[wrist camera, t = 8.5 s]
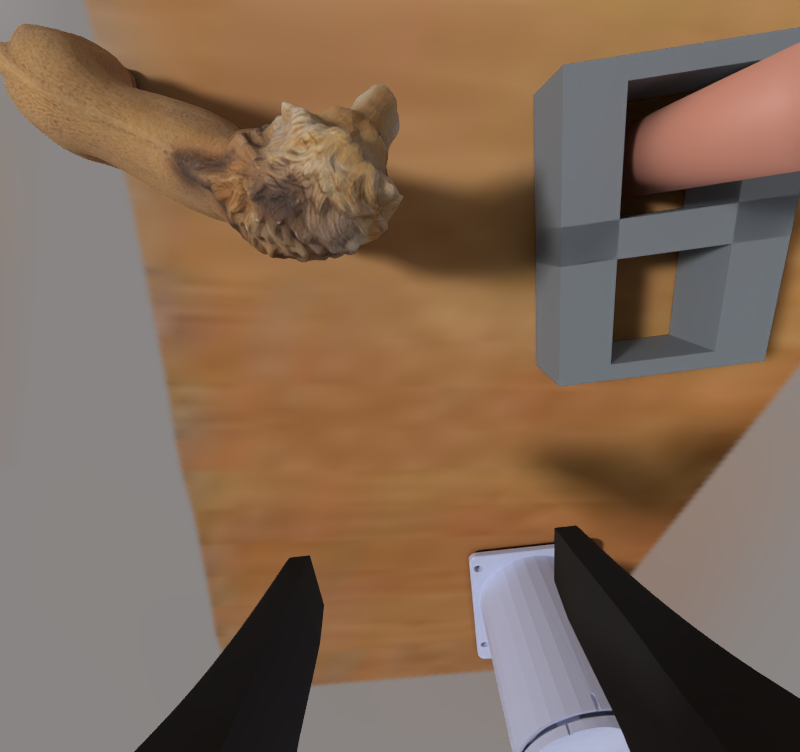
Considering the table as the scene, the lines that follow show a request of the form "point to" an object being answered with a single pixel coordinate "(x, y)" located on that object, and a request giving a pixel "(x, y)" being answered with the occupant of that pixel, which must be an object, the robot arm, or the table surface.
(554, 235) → the hole block
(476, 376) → the table surface
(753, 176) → the peg
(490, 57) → the table surface
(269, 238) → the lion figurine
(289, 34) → the table surface
